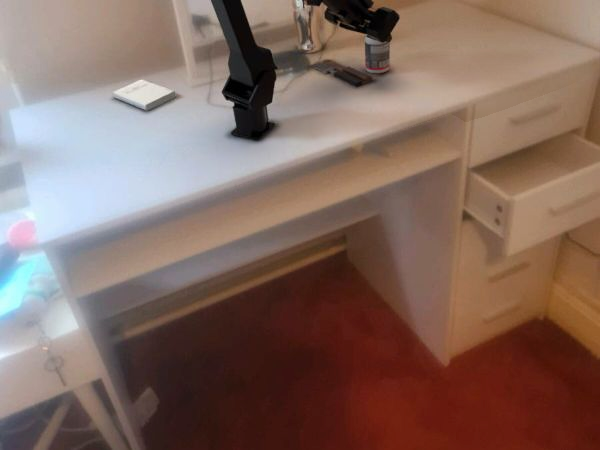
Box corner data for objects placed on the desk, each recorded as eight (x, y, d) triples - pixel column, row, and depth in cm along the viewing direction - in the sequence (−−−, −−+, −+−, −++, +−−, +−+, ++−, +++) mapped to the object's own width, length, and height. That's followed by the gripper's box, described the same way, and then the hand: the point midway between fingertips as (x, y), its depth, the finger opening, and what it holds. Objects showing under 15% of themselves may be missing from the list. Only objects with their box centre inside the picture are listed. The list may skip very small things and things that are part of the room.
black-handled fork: (364, 83, 129) (364, 80, 128) (354, 87, 128) (354, 83, 127) (320, 63, 140) (320, 59, 139) (311, 66, 139) (310, 63, 138)
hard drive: (146, 112, 128) (114, 98, 136) (176, 97, 133) (143, 84, 140) (144, 105, 127) (112, 91, 135) (175, 90, 132) (142, 78, 139)
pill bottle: (364, 64, 136) (363, 21, 130) (388, 63, 136) (388, 20, 130) (365, 74, 132) (364, 30, 126) (390, 73, 131) (390, 28, 125)
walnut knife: (372, 80, 130) (372, 76, 129) (365, 83, 129) (364, 79, 128) (327, 60, 141) (327, 56, 140) (320, 62, 140) (320, 58, 140)
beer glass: (321, 53, 144) (316, -11, 135) (293, 54, 146) (286, -10, 137) (326, 42, 150) (321, -20, 141) (298, 43, 151) (292, -19, 142)
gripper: (392, -32, 111) (433, 13, 122) (332, -47, 124) (374, -5, 135) (360, 22, 113) (403, 61, 124) (304, 1, 126) (347, 38, 137)
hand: (382, 36), depth 130 cm, fingers closed on pill bottle, 5 cm apart
